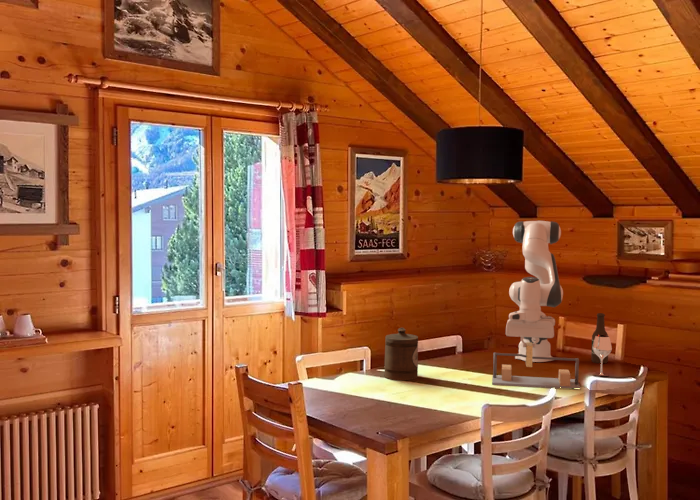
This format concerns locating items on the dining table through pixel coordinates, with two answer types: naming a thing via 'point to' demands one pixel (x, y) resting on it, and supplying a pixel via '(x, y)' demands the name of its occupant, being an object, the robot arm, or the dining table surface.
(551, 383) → the stand
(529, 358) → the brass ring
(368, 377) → the dining table surface
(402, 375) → the wooden container
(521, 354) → the rod
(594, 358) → the beer bottle
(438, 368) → the dining table surface
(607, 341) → the wineglass
